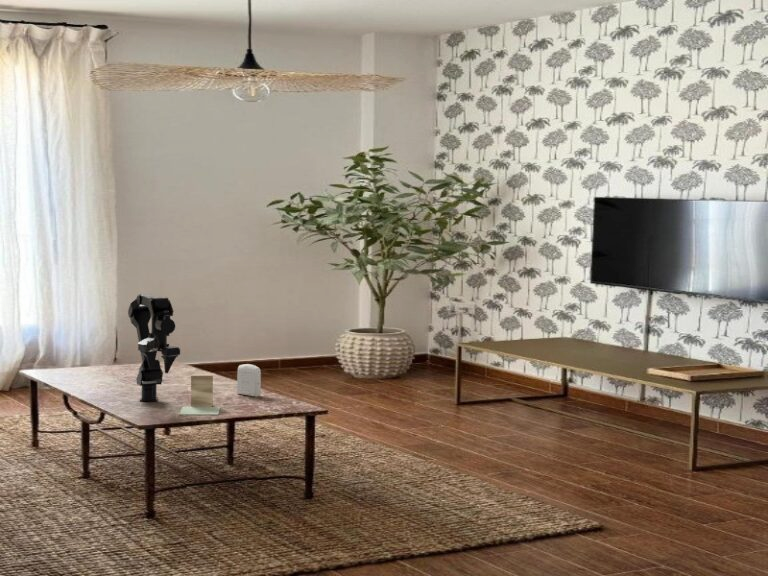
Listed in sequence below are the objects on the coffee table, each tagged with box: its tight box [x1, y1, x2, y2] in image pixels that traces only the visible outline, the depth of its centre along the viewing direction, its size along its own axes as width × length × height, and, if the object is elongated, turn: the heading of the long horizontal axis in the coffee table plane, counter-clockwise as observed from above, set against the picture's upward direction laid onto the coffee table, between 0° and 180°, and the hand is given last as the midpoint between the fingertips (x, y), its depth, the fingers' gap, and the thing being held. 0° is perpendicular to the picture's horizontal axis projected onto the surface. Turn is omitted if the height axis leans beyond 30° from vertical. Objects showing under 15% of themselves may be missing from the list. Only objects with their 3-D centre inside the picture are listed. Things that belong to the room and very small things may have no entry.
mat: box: [179, 406, 221, 416], centre depth 426 cm, size 14×14×1 cm
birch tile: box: [190, 373, 214, 407], centre depth 435 cm, size 4×8×12 cm, turn 95°
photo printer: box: [236, 363, 262, 398], centre depth 460 cm, size 10×4×12 cm, turn 56°
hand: (158, 371), depth 433 cm, fingers open, 9 cm apart
